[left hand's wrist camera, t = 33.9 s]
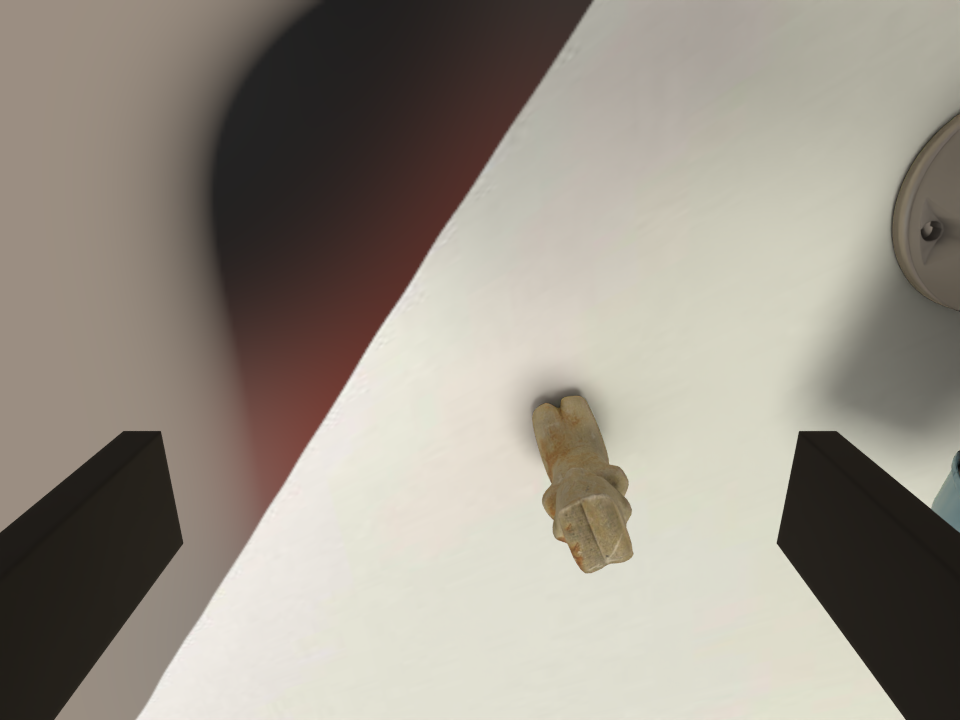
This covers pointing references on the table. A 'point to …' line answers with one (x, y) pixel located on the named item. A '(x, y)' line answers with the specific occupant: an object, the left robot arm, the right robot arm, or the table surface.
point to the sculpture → (582, 485)
